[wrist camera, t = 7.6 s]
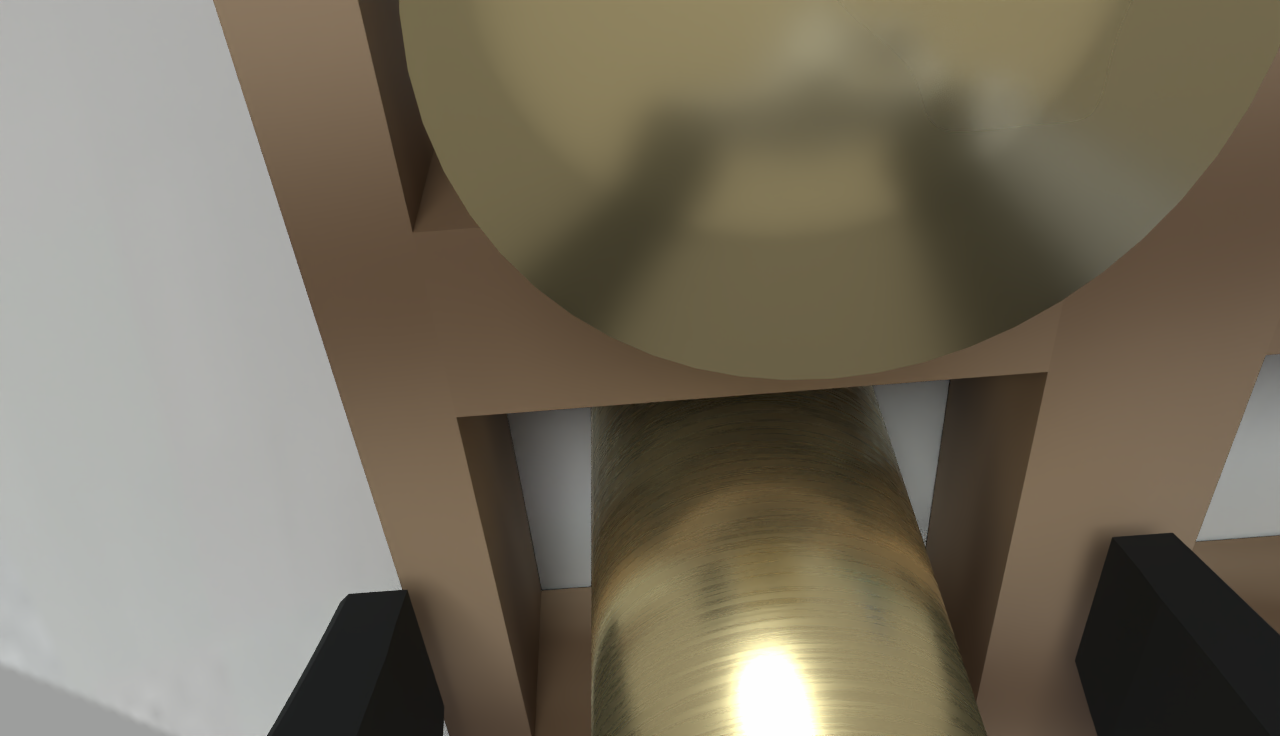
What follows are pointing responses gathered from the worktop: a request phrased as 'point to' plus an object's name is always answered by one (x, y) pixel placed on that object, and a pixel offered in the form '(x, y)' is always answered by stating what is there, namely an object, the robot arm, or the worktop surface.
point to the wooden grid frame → (746, 392)
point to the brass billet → (764, 575)
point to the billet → (825, 159)
